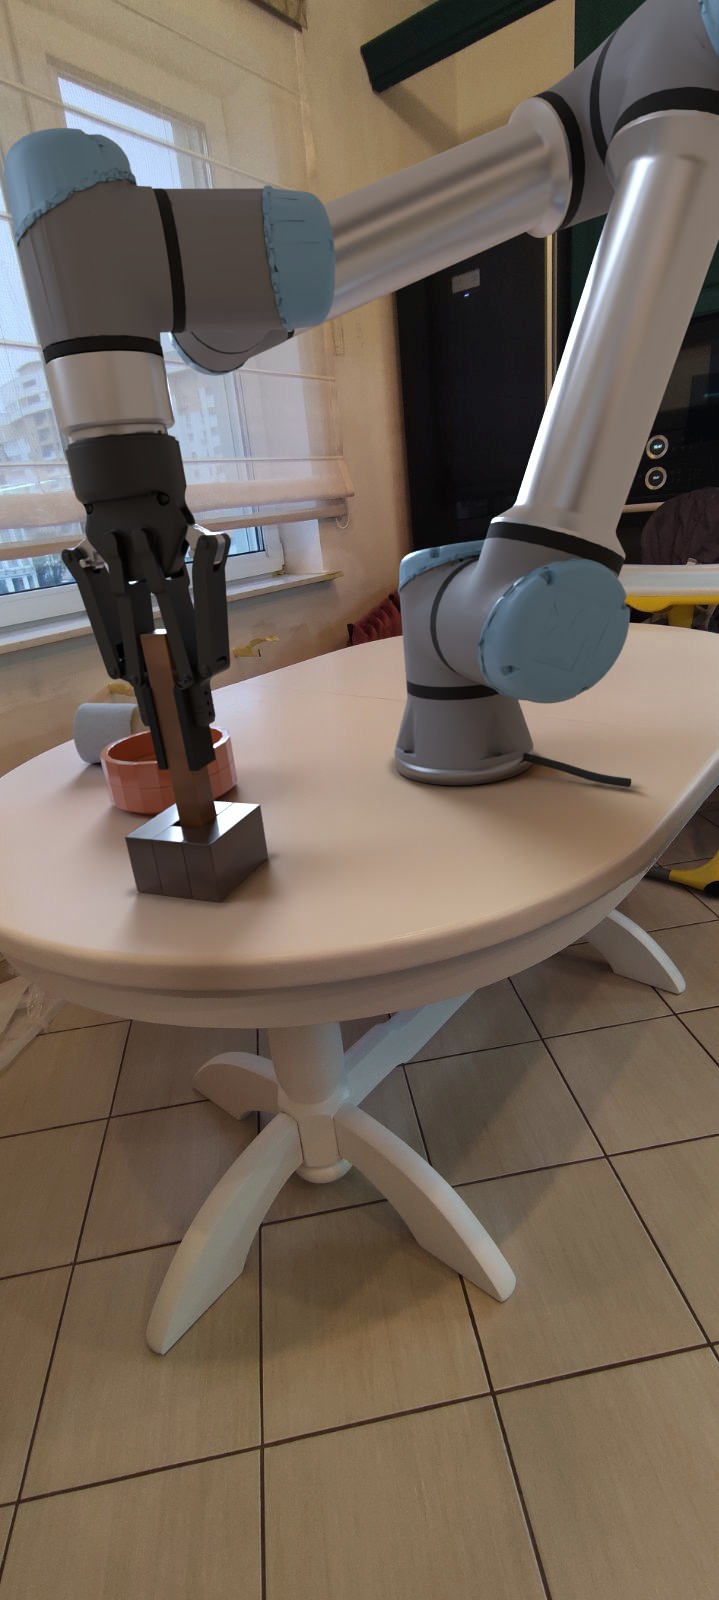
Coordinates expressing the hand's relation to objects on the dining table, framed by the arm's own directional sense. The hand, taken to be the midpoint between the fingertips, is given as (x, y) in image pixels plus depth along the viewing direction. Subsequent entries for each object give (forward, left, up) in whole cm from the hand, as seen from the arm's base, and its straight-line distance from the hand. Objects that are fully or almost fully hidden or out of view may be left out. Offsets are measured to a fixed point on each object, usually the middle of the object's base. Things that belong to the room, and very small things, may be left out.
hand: (187, 763), depth 58 cm
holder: (0, 0, -10) cm, 10 cm away
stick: (0, 0, -7) cm, 7 cm away
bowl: (+14, -16, -10) cm, 23 cm away
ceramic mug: (+30, -27, -10) cm, 42 cm away
